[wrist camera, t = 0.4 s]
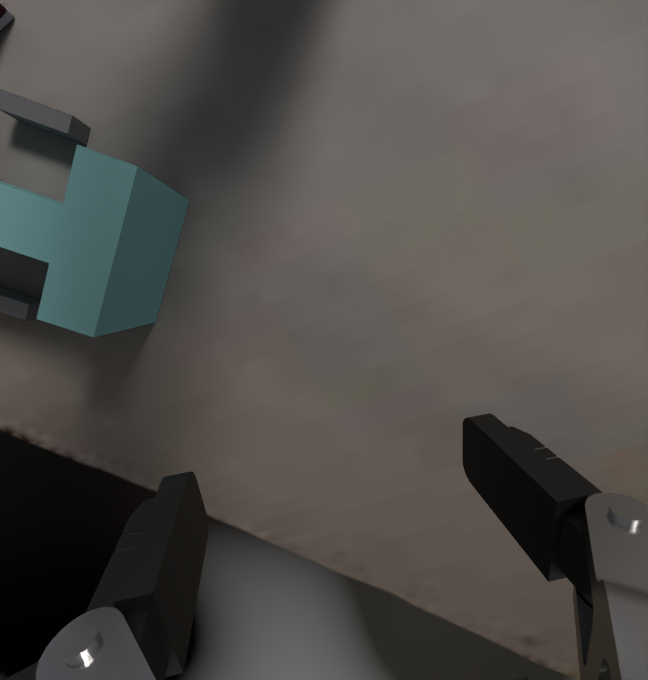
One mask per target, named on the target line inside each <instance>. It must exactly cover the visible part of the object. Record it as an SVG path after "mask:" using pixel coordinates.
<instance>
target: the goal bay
mask: <svg viewBox="0 0 648 680" xmlns="http://www.w3.org/2000/svg"><path fill="white" fill-rule="evenodd" d="M0 110H1V111H3V112H4V113H6V114H8V115H10V116H12V117H13V118H15V119H17V120H19V121H21V122H24V123H27V124H30V125H32V126H35V127H38V128H41V129H44V130H46V131H49V132H52V133H55V134H57V135H60V136H63V137H66V138H68V139H71V140H74V141H77V142H80V143H82V144H85V145H87V141H88V136H89V132H90V127H88V126H87V125H85V124H84V123H82V122H81V121H79V120H78V119H77V118H75V117H74V116H72V115H70V114H67V113H64V112H61V111H59V110H56V109H53V108H51V107H48V106H45V105H42V104H40V103H37V102H34V101H31V100H29V99H26V98H23V97H21V96H18V95H15V94H12V93H10V92H7V91H4V90H1V89H0ZM40 302H41V300H38V299H35V298H32V297H29V296H26V295H23V294H20V293H17V292H14V291H11V290H8V289H5V288H2V287H0V312H1V313H4V314H7V315H10V316H13V317H16V318H19V319H22V320H33V319H37V314H38V310H39V306H40Z"/></svg>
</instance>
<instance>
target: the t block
mask: <svg viewBox="0 0 648 680" xmlns="http://www.w3.org/2000/svg"><path fill="white" fill-rule="evenodd" d="M188 204H189V200H188V199H186V198H185V197H183V196H182V195H180V194H179V193H177V192H176V191H174V190H173V189H171V188H170V187H168V186H167V185H165V184H164V183H162V182H161V181H159V180H158V179H156V178H154V177H153V176H151V175H150V174H148V173H147V172H145V171H144V170H142V169H141V168H139V167H138V166H135V165H132V164H130V163H127V162H124V161H121V160H119V159H116V158H113V157H110V156H108V155H105V154H102V153H99V152H96V151H94V150H91V149H88V148H85V147H83V146H80V145H77V146H76V151H75V155H74V159H73V164H72V168H71V172H70V177H69V181H68V185H67V189H66V194H65V198H64V202H60V201H57V200H54V199H51V198H49V197H46V196H43V195H40V194H37V193H34V192H31V191H28V190H26V189H23V188H20V187H17V186H14V185H11V184H8V183H5V182H2V181H0V247H2V248H5V249H8V250H11V251H14V252H17V253H20V254H23V255H26V256H29V257H32V258H35V259H38V260H41V261H44V262H47V263H49V267H48V271H47V276H46V280H45V284H44V289H43V293H42V297H41V302H40V306H39V310H38V314H37V319H38V320H41V321H44V322H47V323H50V324H53V325H57V326H60V327H63V328H66V329H69V330H72V331H75V332H78V333H81V334H84V335H87V336H91V337H98V336H102V335H106V334H110V333H114V332H118V331H122V330H126V329H130V328H135V327H139V326H143V325H147V324H151V323H155V322H156V318H157V315H158V311H159V308H160V304H161V301H162V297H163V293H164V290H165V286H166V283H167V279H168V276H169V272H170V268H171V265H172V261H173V258H174V254H175V251H176V247H177V243H178V240H179V236H180V233H181V229H182V226H183V222H184V218H185V215H186V211H187V208H188Z"/></svg>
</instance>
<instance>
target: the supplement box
mask: <svg viewBox="0 0 648 680" xmlns="http://www.w3.org/2000/svg"><path fill="white" fill-rule="evenodd" d="M13 18H14V16H13V14H12V13H11V12H10V11H9V9H8V8H7V7H6V6H5V5H4V4H3V3H2V1H1V0H0V31H1V30H2V29H3V28H4V27H5V26H6V25H7V24H8V23H9V22H10V21H11V20H12V19H13Z"/></svg>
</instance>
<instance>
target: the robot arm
mask: <svg viewBox="0 0 648 680" xmlns="http://www.w3.org/2000/svg"><path fill="white" fill-rule="evenodd" d="M463 466H464V470H465V473H466V476H467V478H468V480H469V481H470V483H471V484H472V485H473V487H474V488H475V489H476V490H477V492H478V493H479V494H480V495H481V497H482V498H483V499H484V501H485V502H486V503H487V504H488V506H489V507H490V508H491V509H492V511H493V512H494V513H495V514H496V516H497V517H498V518H499V520H500V521H501V522H502V523H503V525H504V526H505V527H506V528H507V530H508V531H509V532H510V533H511V535H512V536H513V537H514V539H515V540H516V541H517V542H518V544H519V545H520V546H521V547H522V549H523V550H524V551H525V552H526V554H527V555H528V556H529V558H530V559H531V560H532V561H533V563H534V564H535V565H536V566H537V568H538V569H539V570H540V572H541V573H542V574H543V575H544V577H545V578H546V579H547V580H548V582H550V581H554V580H558V579H561V578H565V577H567V578H568V579H569V580H570V582H571V583H572V584H573V585H574V589H573V603H574V615H575V626H576V637H577V648H578V659H579V670H580V680H648V505H647V504H645V503H643V502H641V501H639V500H637V499H635V498H632V497H629V496H626V495H622V494H617V493H609V492H604V493H603V492H602V491H600V490H599V489H598V488H597V487H595V486H594V485H593V484H592V483H590V482H589V481H588V480H587V479H585V478H584V477H583V476H582V475H580V474H579V473H578V472H577V471H575V470H574V469H573V468H572V467H570V466H569V465H568V464H566V463H565V462H564V461H563V460H561V459H560V458H557V457H556V455H555V454H554V453H553V452H551V451H550V450H549V449H548V448H545V447H544V445H543V444H541V443H540V442H539V441H538V440H536V439H535V438H534V437H533V436H531V435H530V434H528V433H526V432H523V431H521V430H519V429H517V428H514V427H507V426H506V425H505V424H503V423H502V422H501V421H500V420H499V419H497V418H496V417H495V416H494V415H492V414H484V415H479V416H474V417H469V418H465V419H464V421H463ZM207 538H208V520H207V514H206V511H205V507H204V504H203V500H202V497H201V493H200V490H199V486H198V483H197V479H196V476H195V474H194V473H193V472H186V473H181V474H176V475H171V476H166V477H164V478H163V479H162V481H161V484H160V486H159V489H158V491H157V494H156V496H155V498H153V499H148V500H144V502H143V503H142V504H141V505H140V506H139V507H138V508H137V509H136V510H135V511H134V513H133V514H132V515H131V516H130V517H129V520H128V522H127V524H126V526H125V528H124V530H123V533H122V537H120V539H119V542H118V544H117V546H116V548H115V552H114V553H113V554H112V557H111V559H110V562H109V563H108V565H107V567H106V570H105V572H104V574H103V576H102V579H101V580H100V583H99V585H98V587H97V589H96V592H95V594H94V596H93V598H92V600H91V602H90V604H89V607H88V609H87V611H86V613H85V614H83V615H81V616H79V617H78V618H76V619H75V620H73V621H72V622H71V623H69V624H68V625H67V626H66V627H64V628H63V629H62V630H61V631H60V632H59V633H58V634H57V635H56V636H55V638H54V639H53V640H52V641H51V642H50V644H49V645H48V646H47V648H46V649H45V651H44V653H43V654H42V657H41V659H40V661H38V662H36V663H35V664H33V665H31V666H29V667H27V668H26V669H24V670H22V671H20V672H18V673H16V674H14V675H12V676H10V677H8V678H6V679H5V680H165V677H168V676H172V675H176V674H180V673H183V671H184V665H185V660H186V654H187V649H188V643H189V638H190V633H191V627H192V622H193V616H194V610H195V605H196V600H197V594H198V588H199V583H200V577H201V571H202V567H203V561H204V556H205V550H206V545H207ZM517 680H528V678H527V677H524V678H520V679H517Z"/></svg>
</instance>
